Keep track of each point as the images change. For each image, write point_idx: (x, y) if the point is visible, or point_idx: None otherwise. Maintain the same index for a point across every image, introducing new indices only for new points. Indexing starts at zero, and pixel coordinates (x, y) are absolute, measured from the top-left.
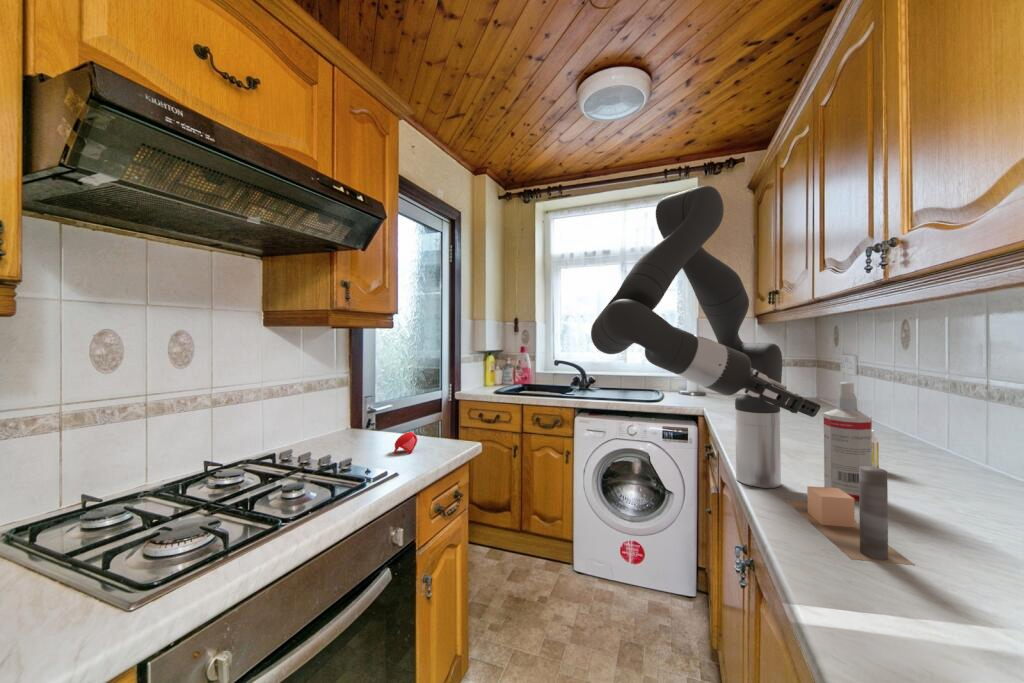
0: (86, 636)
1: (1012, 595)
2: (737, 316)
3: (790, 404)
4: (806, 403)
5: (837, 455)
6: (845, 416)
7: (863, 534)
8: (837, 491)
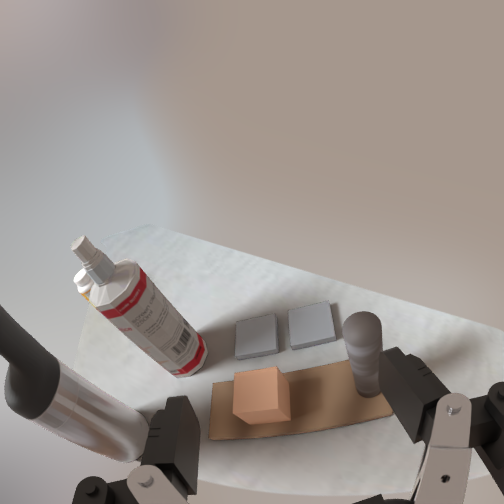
0: None
1: (384, 296)
2: None
3: (489, 438)
4: (443, 385)
5: (157, 336)
6: (124, 286)
7: (375, 386)
8: (250, 378)
